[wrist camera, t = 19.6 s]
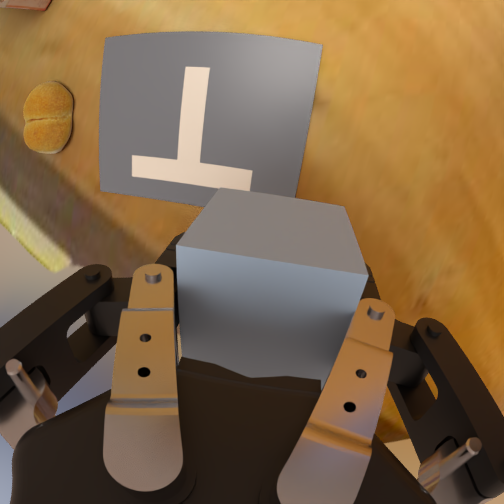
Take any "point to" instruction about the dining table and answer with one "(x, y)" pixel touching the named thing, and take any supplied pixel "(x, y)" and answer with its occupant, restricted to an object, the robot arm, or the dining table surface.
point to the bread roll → (48, 117)
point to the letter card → (204, 114)
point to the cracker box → (25, 4)
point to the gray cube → (268, 284)
